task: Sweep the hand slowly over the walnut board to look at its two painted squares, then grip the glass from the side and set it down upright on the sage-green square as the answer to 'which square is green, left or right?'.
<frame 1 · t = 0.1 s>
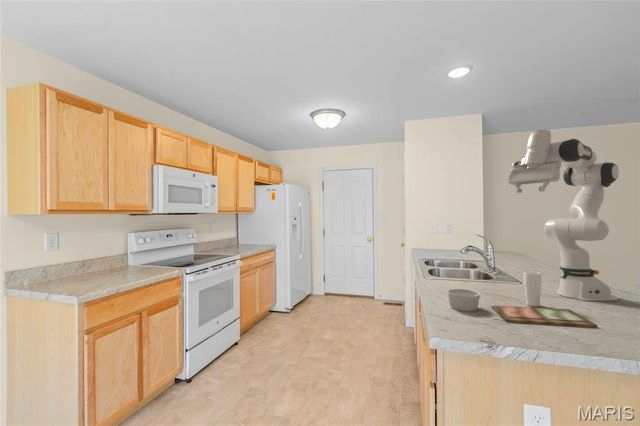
hand: (529, 192, 134), 52 cm above the countertop, tool tilted 20°, fingers open, 8 cm apart
ramekin: (463, 308, 136), on the countertop
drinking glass: (532, 305, 137), on the countertop
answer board: (539, 316, 122), on the countertop
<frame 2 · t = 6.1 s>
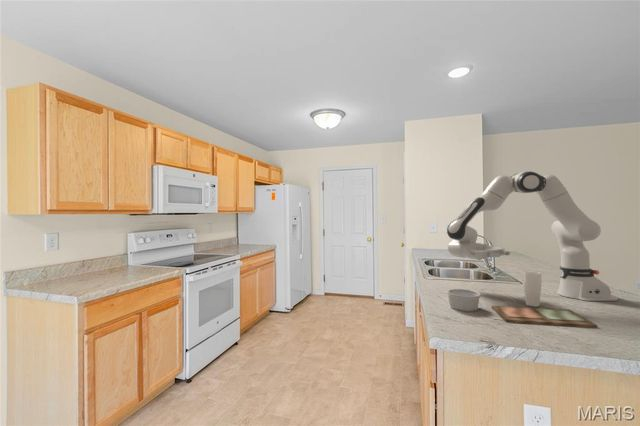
hand: (504, 254, 147), 22 cm above the countertop, tool horizontal, fingers open, 8 cm apart
nothing on the countertop moved.
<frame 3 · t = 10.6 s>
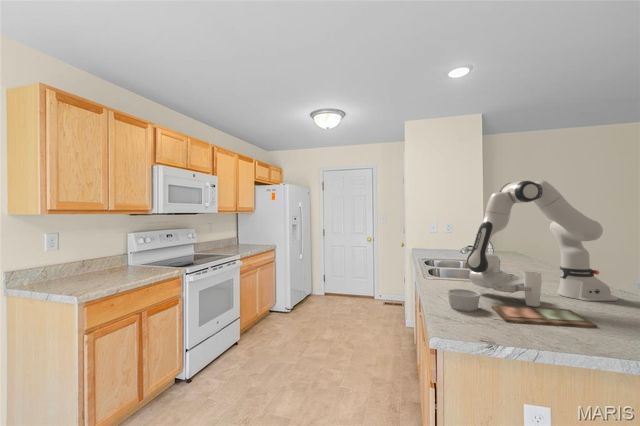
hand: (534, 288, 136), 8 cm above the countertop, tool horizontal, fingers closed on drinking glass, 6 cm apart
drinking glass: (532, 305, 137), on the countertop, touching gripper
everything else where it was.
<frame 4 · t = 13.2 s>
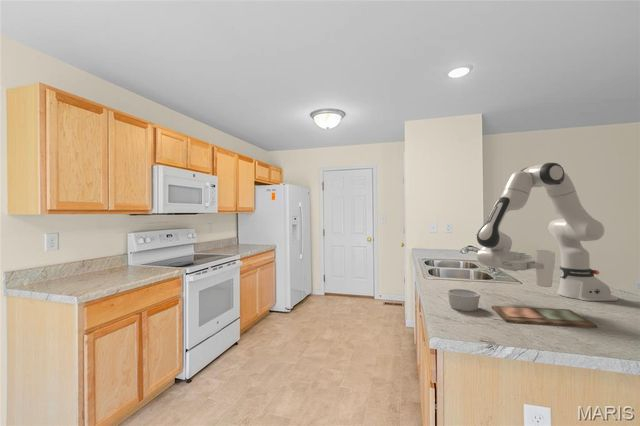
hand: (547, 265, 127), 20 cm above the countertop, tool horizontal, fingers closed on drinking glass, 6 cm apart
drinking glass: (544, 286, 128), point 11 cm above the countertop, touching gripper
everything else where it was.
when the fingers open (11 cm above the countertop, at t = 16.0 s): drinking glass stays where it is, resting on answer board.
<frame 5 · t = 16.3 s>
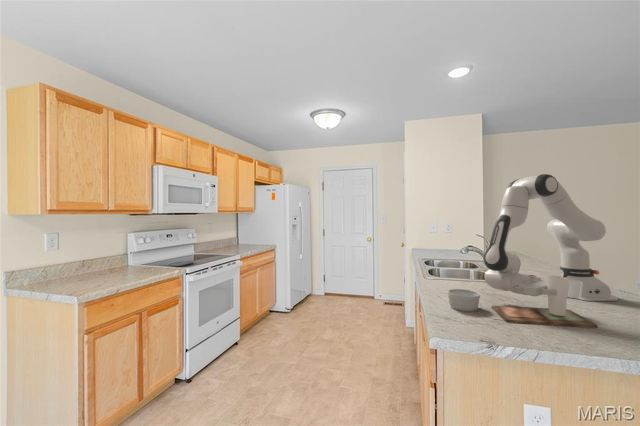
hand: (561, 291, 120), 11 cm above the countertop, tool horizontal, fingers open, 8 cm apart
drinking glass: (556, 314, 120), point 1 cm above the countertop, touching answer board, gripper
everything else where it was.
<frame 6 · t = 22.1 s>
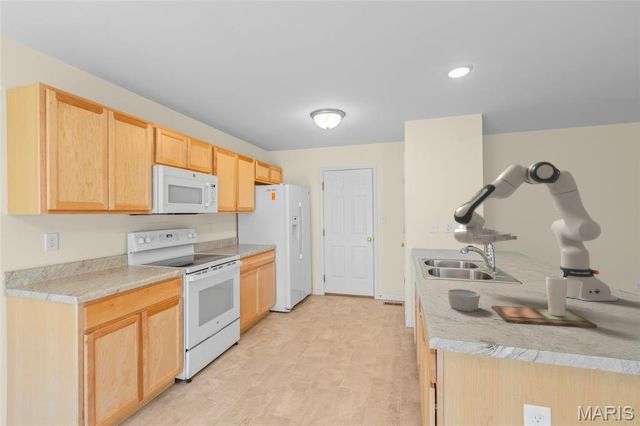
hand: (511, 238, 146), 30 cm above the countertop, tool horizontal, fingers open, 8 cm apart
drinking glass: (556, 315, 120), point 1 cm above the countertop, touching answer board
everything else where it was.
at the end: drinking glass inside the target area on the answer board (1.3 cm from its centre), point 1.2 cm above the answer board's base; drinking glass tilted 1°; the gripper is holding nothing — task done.
